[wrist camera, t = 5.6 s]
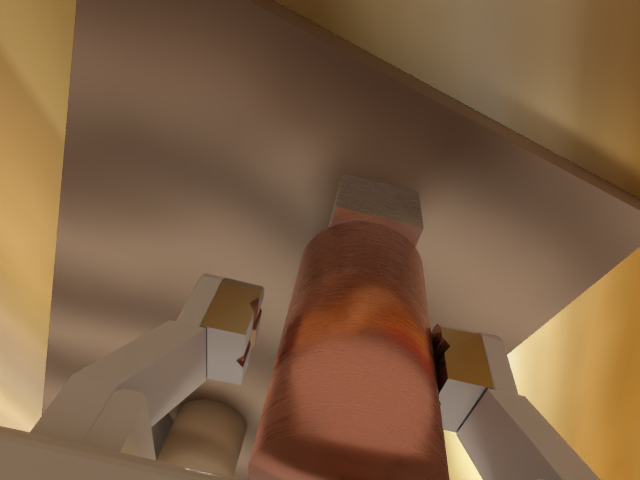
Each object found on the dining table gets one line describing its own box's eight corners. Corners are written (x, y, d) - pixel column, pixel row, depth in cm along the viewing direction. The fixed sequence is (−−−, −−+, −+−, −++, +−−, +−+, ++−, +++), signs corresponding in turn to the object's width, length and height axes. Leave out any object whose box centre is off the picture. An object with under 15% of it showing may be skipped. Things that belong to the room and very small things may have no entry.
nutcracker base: (309, 495, 31) (297, 587, 27) (55, 408, 28) (-6, 495, 24) (643, 201, 15) (755, 314, 10) (114, -85, 12) (-48, -100, 7)
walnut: (234, 446, 25) (213, 520, 22) (171, 424, 25) (139, 497, 22) (256, 416, 23) (236, 493, 20) (187, 390, 22) (155, 466, 19)
